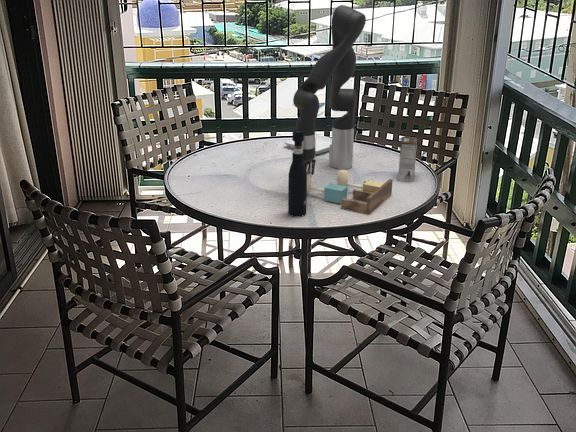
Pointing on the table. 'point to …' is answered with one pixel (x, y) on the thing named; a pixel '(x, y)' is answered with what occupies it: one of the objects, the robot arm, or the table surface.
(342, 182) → the yellow peg toy
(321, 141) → the salad plate
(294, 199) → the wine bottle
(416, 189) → the table surface
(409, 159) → the coffee box
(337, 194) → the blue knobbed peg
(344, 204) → the lane rack
